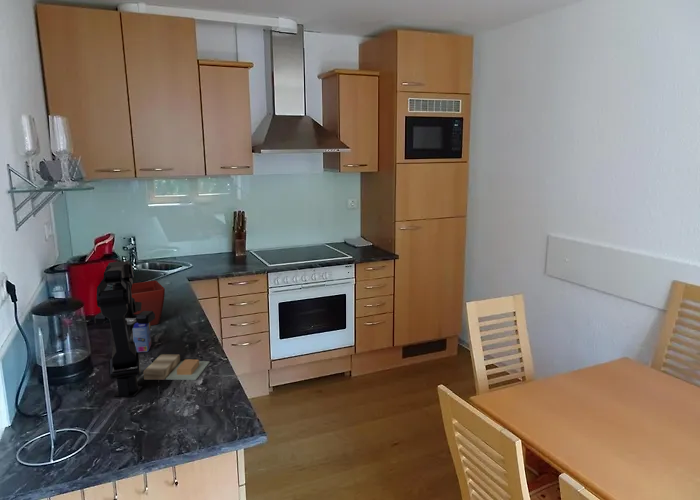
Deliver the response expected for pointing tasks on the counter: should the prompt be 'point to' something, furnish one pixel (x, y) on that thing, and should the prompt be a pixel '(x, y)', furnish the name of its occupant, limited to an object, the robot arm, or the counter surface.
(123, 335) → the robot arm
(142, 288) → the plant pot
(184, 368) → the orange block
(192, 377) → the sage mat
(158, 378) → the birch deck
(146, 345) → the ink cartridge box
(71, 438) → the counter surface
